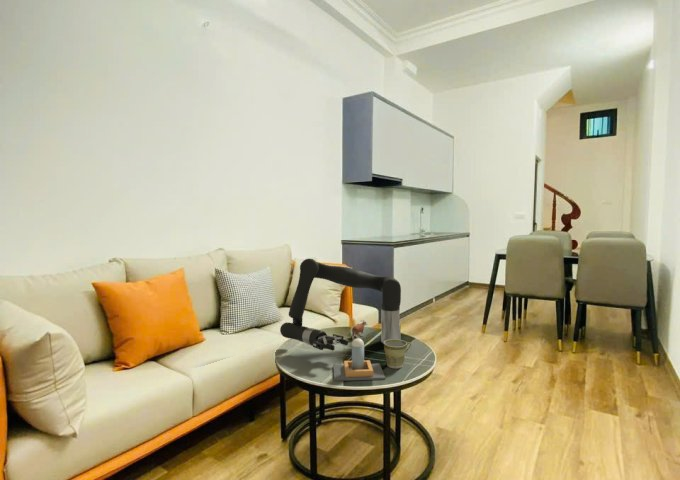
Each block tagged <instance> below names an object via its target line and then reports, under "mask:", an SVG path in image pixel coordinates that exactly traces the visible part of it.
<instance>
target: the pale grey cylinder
mask: <svg viewBox="0 0 680 480" xmlns="http://www.w3.org/2000/svg"><path fill="white" fill-rule="evenodd" d="M359 338H360V337H359ZM359 338H358V337H356V338H354V339H352V342H351V361H352V370H363V369H364V360H365V344H364V340H363V339H361V338H360V339H359Z"/></svg>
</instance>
